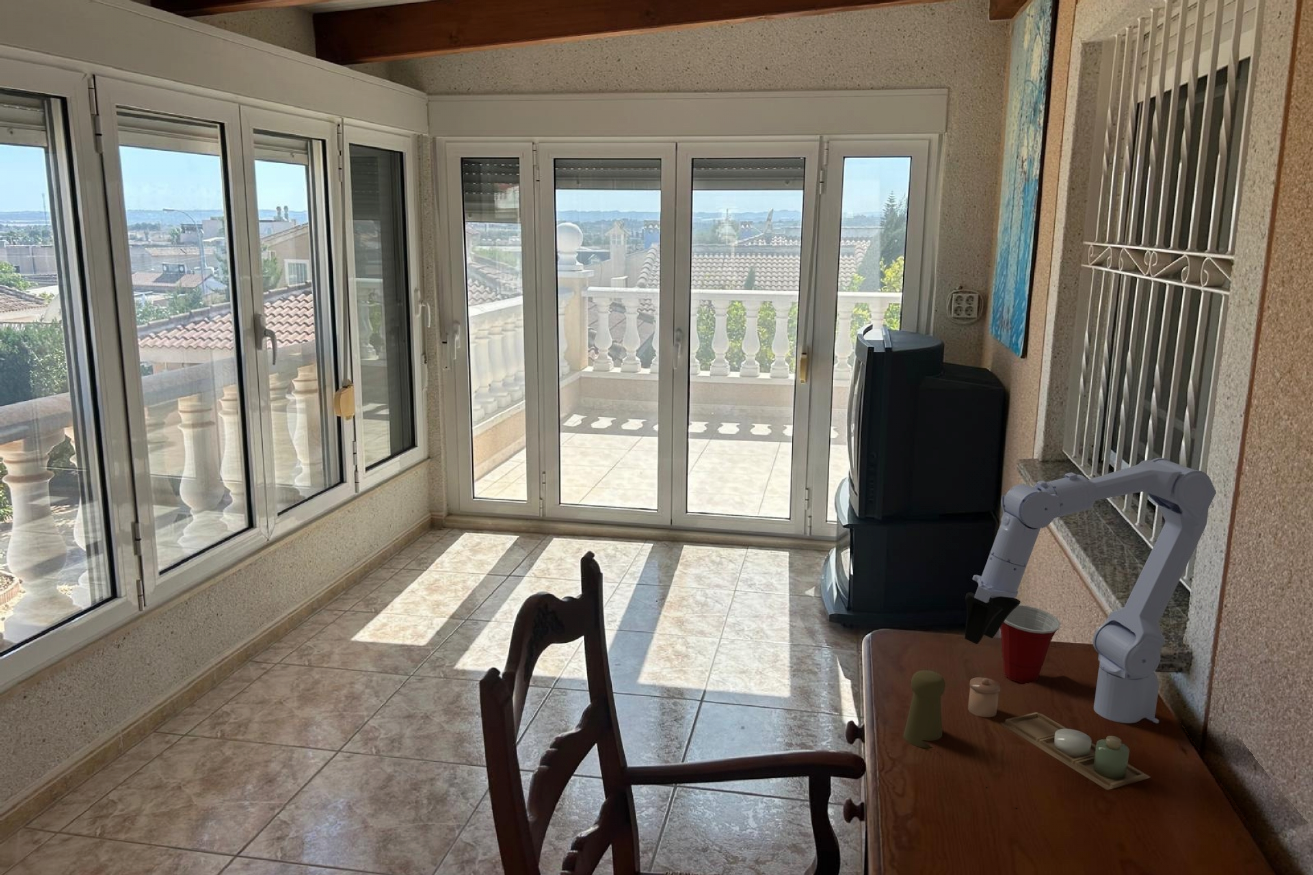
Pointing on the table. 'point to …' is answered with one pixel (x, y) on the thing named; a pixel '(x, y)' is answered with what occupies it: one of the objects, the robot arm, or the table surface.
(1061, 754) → the tray
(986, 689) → the spice jar
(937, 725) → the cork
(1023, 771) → the table surface
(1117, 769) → the green jar
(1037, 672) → the plastic cup
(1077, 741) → the white rounded disc
